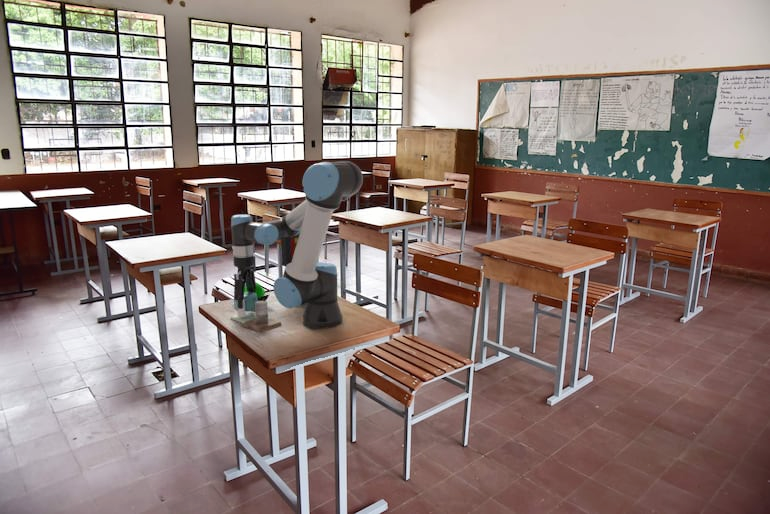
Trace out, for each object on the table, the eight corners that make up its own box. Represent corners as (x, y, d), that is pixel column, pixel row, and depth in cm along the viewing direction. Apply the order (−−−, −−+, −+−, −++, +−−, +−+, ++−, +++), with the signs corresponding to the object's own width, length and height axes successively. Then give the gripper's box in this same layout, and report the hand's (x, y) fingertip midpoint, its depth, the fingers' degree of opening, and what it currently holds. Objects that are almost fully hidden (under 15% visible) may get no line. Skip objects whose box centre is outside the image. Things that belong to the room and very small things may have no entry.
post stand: (281, 324, 203) (280, 302, 201) (260, 332, 196) (258, 308, 194) (264, 319, 209) (263, 297, 207) (243, 326, 202) (241, 303, 200)
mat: (263, 317, 211) (263, 315, 211) (244, 323, 204) (244, 321, 204) (249, 312, 217) (249, 310, 216) (230, 318, 210) (230, 316, 209)
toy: (238, 316, 225) (250, 297, 215) (228, 294, 229) (239, 275, 219) (258, 311, 232) (271, 292, 222) (248, 290, 235) (260, 271, 226)
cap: (255, 312, 205) (254, 299, 203) (228, 310, 206) (227, 297, 205) (263, 305, 213) (262, 292, 212) (237, 303, 214) (236, 291, 213)
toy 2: (288, 304, 228) (285, 234, 221) (283, 300, 233) (280, 232, 226) (319, 299, 234) (317, 231, 227) (313, 295, 239) (311, 229, 232)
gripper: (245, 249, 215) (248, 303, 221) (221, 261, 195) (225, 320, 200) (263, 249, 214) (265, 304, 220) (241, 262, 194) (244, 321, 199)
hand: (246, 311), depth 210 cm, fingers closed on cap, 8 cm apart
